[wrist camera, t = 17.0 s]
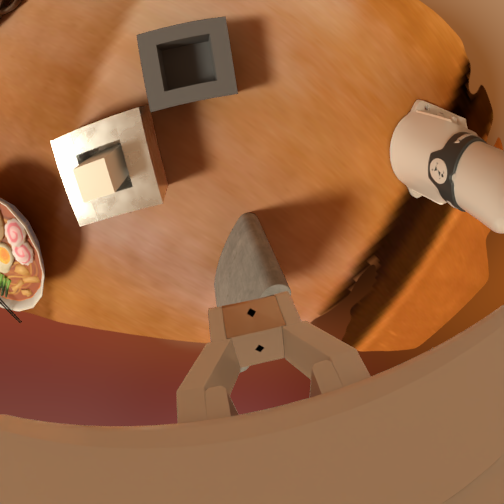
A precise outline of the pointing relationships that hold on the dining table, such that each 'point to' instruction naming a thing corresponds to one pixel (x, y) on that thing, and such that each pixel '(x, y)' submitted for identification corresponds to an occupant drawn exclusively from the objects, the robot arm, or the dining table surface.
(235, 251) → the hip flask
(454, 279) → the dining table surface
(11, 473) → the robot arm
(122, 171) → the plug
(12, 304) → the ramen bowl
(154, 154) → the port box
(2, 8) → the dish
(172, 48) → the grey square socket block
